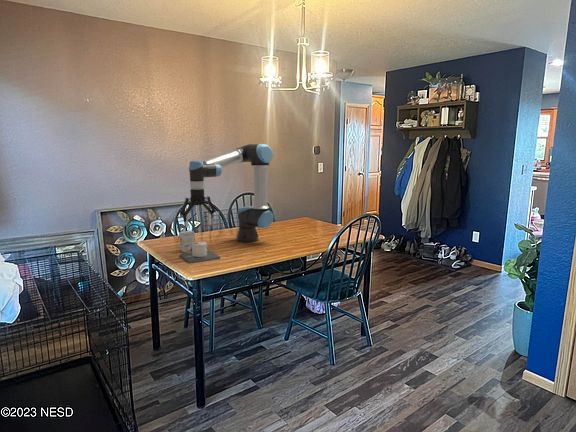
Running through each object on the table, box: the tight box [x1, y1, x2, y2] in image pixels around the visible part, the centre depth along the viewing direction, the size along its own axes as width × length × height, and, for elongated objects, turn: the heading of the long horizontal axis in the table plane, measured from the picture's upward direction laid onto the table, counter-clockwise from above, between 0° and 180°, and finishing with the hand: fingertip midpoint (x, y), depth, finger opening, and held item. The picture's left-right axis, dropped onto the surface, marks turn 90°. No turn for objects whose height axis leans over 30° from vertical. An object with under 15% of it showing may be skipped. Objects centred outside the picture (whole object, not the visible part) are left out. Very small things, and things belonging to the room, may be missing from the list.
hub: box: [179, 249, 221, 264], centre depth 225 cm, size 18×18×6 cm
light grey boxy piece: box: [191, 241, 208, 257], centre depth 225 cm, size 8×8×8 cm
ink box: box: [178, 230, 196, 253], centre depth 240 cm, size 9×5×12 cm, turn 136°
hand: (198, 225), depth 223 cm, fingers open, 13 cm apart
